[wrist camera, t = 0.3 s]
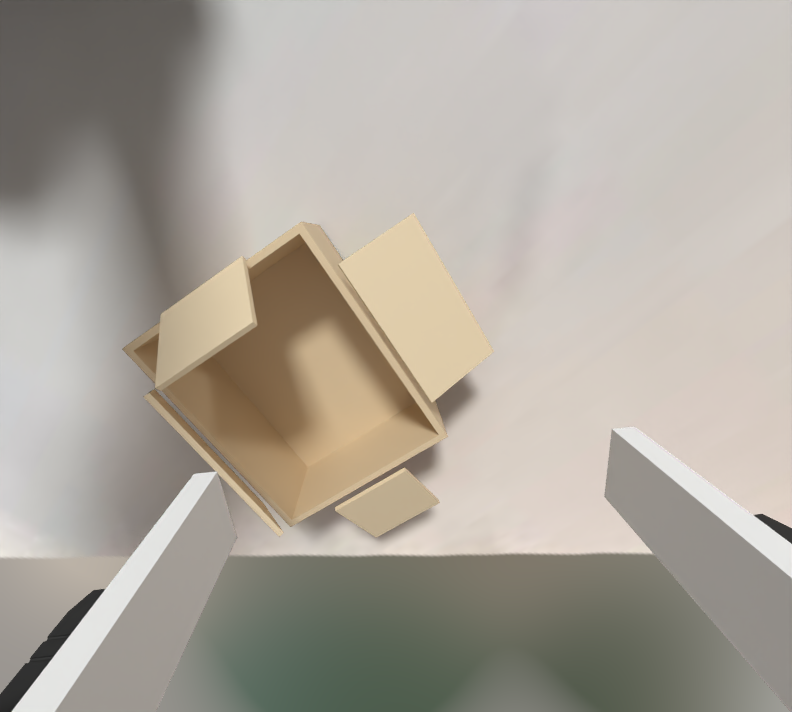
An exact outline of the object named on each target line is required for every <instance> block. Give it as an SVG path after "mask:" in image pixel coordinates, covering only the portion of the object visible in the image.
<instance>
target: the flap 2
mask: <svg viewBox="0 0 792 712" xmlns="http://www.w3.org/2000/svg"><path fill="white" fill-rule="evenodd" d="M144 398H145V399H146V400H147V401H148V402H149V403H150V404H151V405H152V406H153V407H154V408H155V409H156V410H157V411H158V412H159V414H160V415H161V416H162V417H163V418H164V419H165V420H166V421H167V422H168V423H169V424H170V425H171V426H172V427H173V428H174V429H175V430H176V431H177V432H178V433H179V434H180V435H181V436H182V437H183V438H184V439H185V440H186V441H187V442H188V443H189V444H190V445H191V446H192V447H193V448H194V450H195V451H196V452H197V453H198V454H199V455H200V456H201V457H202V458H203V459H204V460H205V461H206V462H207V463H208V464H209V465H210V466H211V467H212V468H213V469H214V470H215V471H216V472H218V474H219V475H220V476H221V477H222V478H223V479H224V480H225V481H226V482H227V483H228V484H229V486H230V487H231V488H232V489H233V490H234V491H235V492H236V493H237V494H238V495H239V496H240V497H241V498H242V499H243V500H244V501H245V502H246V503H247V504H248V505H249V506H250V507H251V508H252V509H253V510H254V511H255V512H256V513H257V514H258V515H259V516H260V517H261V518H262V519H263V520H264V522H265V523H266V524H267V525H268V526H269V527H270V528H271V529H272V530H273V531H274V532H275V533H276V534H277V535H278V536H279V537H280V536H281V535H282V534H283V533H284V532H283V531H282V530H281V528H280V527H279V525H278V524H277V522H276V521H275V519H274V518H273V517H272V515H271V514H270V512H269V511H268V509H267V508H266V506H265V505H264V504H263V502H262V501H261V500H260V499H259V498H258V497H257V496H256V495H255V494H254V493H253V492H252V491H251V490H250V489H249V488H248V487H247V486H246V485H245V483H244V482H243V481H242V480H241V479H240V478H239V477H238V476H237V475H236V474H235V473H234V472H233V471H232V470H231V469H230V468H229V467H228V466H227V465H226V464H225V462H224V461H223V460H222V459H221V458H220V457H219V456H218V455H217V454H216V453H215V452H214V451H213V450H212V449H211V448H210V447H209V446H208V445H207V444H206V443H205V442H204V440H203V439H202V438H201V437H200V436H199V435H198V434H197V433H196V432H195V431H194V430H193V429H192V428H191V427H190V426H189V425H188V424H187V423H186V422H185V421H184V419H183V418H182V417H181V416H180V415H179V414H178V413H177V412H176V411H175V410H174V409H173V408H172V407H171V406H170V405H169V404H168V403H167V402H166V401H165V400H164V398H163V397H162V396H161V395H160V394H159V393H158V392H157V391H156V390H155V389H154V390H152V391H151V392H149V393H148V394H147V395H145V396H144Z"/></svg>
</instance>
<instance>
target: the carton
mask: <svg viewBox="0 0 792 712" xmlns="http://www.w3.org/2000/svg"><path fill="white" fill-rule="evenodd" d="M342 261H343V259H342V258H341V256H340V255H339V253H338V252H337V250H336V249H335V247H334V246H333V244H332V243H331V242H330V240H329V239H328V237H327V236H326V234H325V233H324V231H323V230H322V228H321V227H320V225H316V224H311V223H305V222H300V223H299V224H297V225H296V226H294V227H293V228H292V229H290V230H289V231H287V232H286V233H284V234H283V235H282V236H280V237H279V238H277V239H276V240H275V241H273V242H272V243H270V244H269V245H268V246H266V247H265V248H263V249H262V250H261V251H259V252H258V253H256V254H255V255H253V256H252V257H251V258H249V259H248V260H246V262H247V268H248V274H249V279H250V285H251V291H252V297H253V303H254V308H255V314H256V320H257V326H256V327H255V328H253V329H252V330H250V331H249V332H247V333H246V334H244V335H243V336H241V337H240V338H238V339H237V340H235V341H234V342H232V343H231V344H229V345H228V346H226V347H225V348H224V349H222V350H221V351H219V352H218V353H216V354H215V355H213V356H212V357H210V358H209V359H207V360H206V361H204V362H203V363H201V364H200V365H198V366H197V367H195V368H194V369H192V370H191V371H190V372H188V373H187V374H185V375H184V376H182V377H181V378H179V379H178V380H176V381H175V382H173V383H172V384H170V385H169V386H167V387H166V388H164V389H163V390H161V391H162V392H163V393H164V394H165V395H166V396H167V397H168V398H169V399H170V400H171V401H172V402H173V403H174V404H175V405H176V406H177V408H178V409H179V410H180V411H181V412H182V413H183V414H184V415H185V416H186V417H187V418H188V419H189V420H190V421H191V422H192V423H193V424H194V425H195V427H196V428H197V429H198V430H199V431H200V432H201V433H202V434H203V435H204V436H205V437H206V438H207V439H208V440H209V441H210V442H211V443H212V444H213V446H214V447H215V448H216V449H217V450H218V451H219V452H220V453H221V454H222V455H223V456H224V457H225V458H226V459H227V460H228V461H229V462H230V463H231V465H232V466H233V467H234V468H235V469H236V470H237V471H238V472H239V473H240V474H241V475H242V476H243V477H244V478H245V479H246V480H247V481H248V482H249V484H250V485H251V486H252V487H253V488H254V489H255V490H256V491H257V492H258V493H259V494H260V495H261V496H262V497H263V498H264V499H265V500H266V501H267V503H268V504H269V505H270V506H271V507H272V508H273V509H274V510H275V511H276V512H277V513H278V514H279V515H280V516H281V517H282V518H283V519H284V520H285V522H286V523H287V524H288V525H289V526H290V527H292V526H293V525H295V524H297V523H299V522H300V521H302V520H304V519H306V518H307V517H309V516H311V515H312V514H314V513H316V512H318V511H319V510H321V509H323V508H325V507H326V506H328V505H330V504H332V503H333V502H335V501H337V500H339V499H340V498H342V497H344V496H346V495H347V494H349V493H351V492H352V491H354V490H356V489H358V488H359V487H361V486H363V485H365V484H366V483H368V482H370V481H372V480H373V479H375V478H377V477H379V476H380V475H382V474H384V473H385V472H387V471H389V470H391V469H392V468H394V467H396V466H398V465H399V464H401V463H403V462H405V461H406V460H408V459H410V458H412V457H413V456H415V455H417V454H418V453H420V452H422V451H424V450H425V449H427V448H429V447H431V446H432V445H434V444H436V443H438V442H439V441H441V440H443V439H445V438H446V437H448V435H447V433H446V430H445V427H444V424H443V421H442V418H441V415H440V412H439V410H438V407H437V404H436V401H434V402H430V401H429V399H428V398H427V396H426V395H425V393H424V392H423V390H422V389H421V387H420V386H419V385H418V383H417V382H416V380H415V379H414V377H413V376H412V374H411V373H410V371H409V370H408V368H407V367H406V365H405V364H404V362H403V361H402V359H401V358H400V356H399V355H398V353H397V352H396V351H395V349H394V348H393V346H392V345H391V343H390V342H389V340H388V339H387V337H386V336H385V334H384V333H383V331H382V330H381V328H380V327H379V325H378V324H377V322H376V321H375V320H374V318H373V317H372V315H371V314H370V312H369V311H368V309H367V308H366V306H365V305H364V303H363V302H362V300H361V299H360V297H359V296H358V294H357V293H356V291H355V290H354V288H353V287H352V286H351V284H350V283H349V281H348V280H347V278H346V277H345V275H344V274H343V272H342V271H341V269H340V268H339V266H338V264H339V263H341V262H342ZM159 330H160V322H159V323H158V324H156V325H155V326H154V327H152V328H151V329H149V330H148V331H146V332H145V333H144V334H142V335H141V336H139V337H138V338H137V339H135V340H134V341H132V342H131V343H130V344H128V345H127V346H125V347H124V348H123V350H124V352H125V353H126V354H127V355H128V356H129V357H130V358H131V359H132V360H133V361H134V362H135V363H136V364H137V365H138V366H139V367H140V368H141V369H142V371H143V372H144V373H145V374H146V375H147V376H148V377H149V378H150V379H151V380H152V381H153V382H154V383H155V381H156V368H157V355H158V342H159Z"/></svg>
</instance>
